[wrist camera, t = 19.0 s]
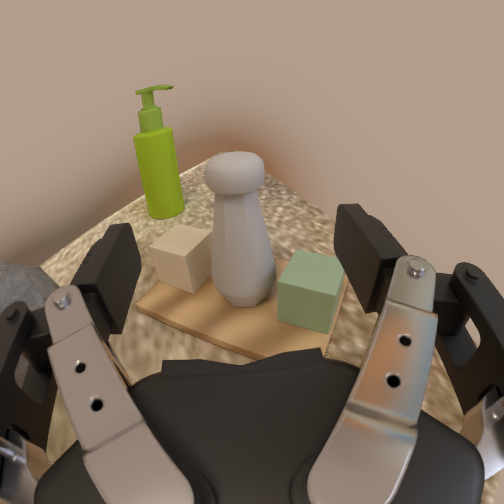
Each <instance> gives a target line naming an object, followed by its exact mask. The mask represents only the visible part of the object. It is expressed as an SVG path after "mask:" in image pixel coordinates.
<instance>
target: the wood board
mask: <svg viewBox="0 0 504 504" xmlns="http://www.w3.org/2000/svg"><path fill="white" fill-rule="evenodd" d="M274 260H275V264H276V271H277V278H276V282H275V284H274V285H273V287H272V289H271V291H270V292H269V294H268V296H267V297H266V298H265V299H263V300H262V301H261V302H260V303H259V304H257V305H256V306H255V307H234V306H233V305H232V304H231V303H230V302H229V301H228V300H227V299H226V298H225V297H224V296H223V295H222V294H221V293H220V292H219V291H218V290H217V289H216V287H215V284H214V282H213V280H212V277H211V275H210V276H209V277H208V278H207V279H206V281H205V282H204V283H203V284H202V285H201V286H200V287H199V289H198V290H197V291H196V292H195V293H194V294H193V293H190V292H187V291H184V290H182V289H179V288H176V287H173V286H170V285H167V284H165V283H162V282H160V281H158V282H157V283H156V284H155V285H154V286H153V287H152V288H151V289H150V290H149V291H148V292H147V293H146V294H145V295H144V296H143V297H142V298H141V299H140V300H139V301H138V302H137V303H136V307H137V309H138V311H140V312H142V313H144V314H146V315H148V316H150V317H153V318H155V319H157V320H159V321H161V322H164V323H166V324H168V325H170V326H173V327H175V328H177V329H179V330H182V331H184V332H186V333H189V334H191V335H194V336H196V337H198V338H201V339H203V340H206V341H208V342H211V343H213V344H216V345H218V346H221V347H224V348H226V349H229V350H231V351H234V352H237V353H240V354H242V355H245V356H248V357H251V358H254V359H256V360H261V359H264V358H267V357H270V356H273V355H276V354H279V353H282V352H289V351H297V350H304V349H311V348H318V347H321V351H322V354H323V358H324V356H325V353H326V350H327V347H328V344H329V341H330V338H331V335H332V332H333V330H334V326H335V323H336V320H337V317H338V314H339V311H340V308H341V304H342V301H343V298H344V294H345V291H346V288H347V284H348V280H349V279H348V277H347V275H346V274H345V275H344V280H343V286H342V291H341V296H340V300H339V303H338V306H337V309H336V312H335V315H334V318H333V321H332V324H331V327H330V330H329V333H328V334H324V333H321V332H317V331H313V330H309V329H306V328H302V327H299V326H295V325H292V324H288V323H285V322H281V321H278V320H277V308H278V280H279V278H280V276H281V275H282V273H283V271H284V270H285V268H286V266H287V265H288V263H289V261H285V260H281V259H277V258H274Z"/></svg>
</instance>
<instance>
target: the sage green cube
mask: <svg viewBox="0 0 504 504" xmlns="http://www.w3.org/2000/svg"><path fill="white" fill-rule="evenodd" d="M344 275H345V271H344V269H343V267H342V265H341V263H340V261H339V260H338V258H335V257H330V256H326V255H321V254H317V253H312V252H308V251H303V250H298V249H296V251H295V253H294V254H293V256H292V258H291V259H290V261H289V263H288V265H287V266H286V268H285V270H284V271H283V273H282V275H281V276H280V278H279V280H278V308H277V320H278V321H281V322H285V323H288V324H292V325H295V326H299V327H302V328H306V329H309V330H313V331H317V332H321V333H324V334H328V333H329V330H330V327H331V324H332V321H333V318H334V315H335V312H336V309H337V306H338V303H339V300H340V296H341V291H342V286H343V280H344Z"/></svg>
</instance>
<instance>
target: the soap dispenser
mask: <svg viewBox="0 0 504 504" xmlns="http://www.w3.org/2000/svg"><path fill="white" fill-rule="evenodd" d="M172 88H173V86H171V85H158V86H153V87H148V88H144V89H141V90H138V91H136V92H135V93H136V95H138V94H141V95H142V103H143V109H141V111H139V112H138V116H139V123H140V129H141V132H140V133H138V134H136V135H135V136H134V137H133V138H134V144H135V149H136V154H137V160H138V165H139V170H140V175H141V179H142V184H143V188H144V192H145V197H146V201H147V206H148V210H149V214H150V216H151V217H152V218H155V219H166V218H170V217H173V216H176V215H178V214H179V213H181V212H182V211H183V210H184V208H185V206H184V201H183V195H182V189H181V183H180V177H179V172H178V165H177V159H176V152H175V146H174V138H173V131H172V128H168V127H163V121H162V114H161V108H160V107H157V106H154V98H153V91H154V90H168V89H172Z"/></svg>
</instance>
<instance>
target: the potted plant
mask: <svg viewBox="0 0 504 504" xmlns="http://www.w3.org/2000/svg"><path fill="white" fill-rule="evenodd" d="M58 288H60V286H59V285H57V284H56V283H55V282H54V281H53V280H52V279H51V278H50V277H49V276H48V275H47V274H46V273H45V272H44V270H43V269H42V268H41V267H33V266H25V265H19V264H14V263H7V262H6V263H5V262H0V315H1V313H2V312H3V311H4V309H5V308H6V307H7V306H9V305H10V304H12V303H13V302H16V301H24V302H25V303H26V304H27V306H28V308H29V309H30V311H33V310H36V309H39V308H42V307H45V302H46V300H47V298H48V297H49V296H50V295H51V294H52V293H53V292H54V291H55V290H57V289H58ZM28 365H29V362H28V361H27V360H26V359H25V358H24V356H23V355H22V354H21V356H20V359H19V362H18V364H17V367H16V370H15V380H16V383H17V385H18V386H19V387H20V388H22V385H23V381H24V378H25V375H26V372H27V369H28Z"/></svg>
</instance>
